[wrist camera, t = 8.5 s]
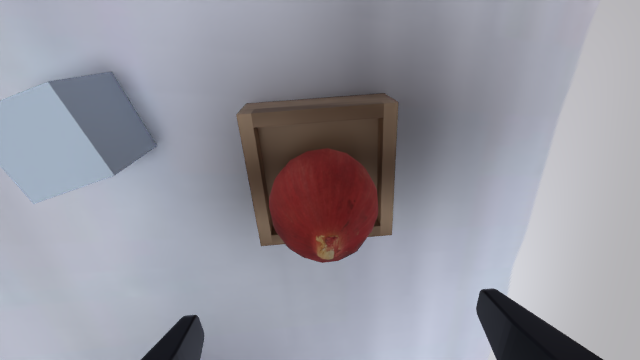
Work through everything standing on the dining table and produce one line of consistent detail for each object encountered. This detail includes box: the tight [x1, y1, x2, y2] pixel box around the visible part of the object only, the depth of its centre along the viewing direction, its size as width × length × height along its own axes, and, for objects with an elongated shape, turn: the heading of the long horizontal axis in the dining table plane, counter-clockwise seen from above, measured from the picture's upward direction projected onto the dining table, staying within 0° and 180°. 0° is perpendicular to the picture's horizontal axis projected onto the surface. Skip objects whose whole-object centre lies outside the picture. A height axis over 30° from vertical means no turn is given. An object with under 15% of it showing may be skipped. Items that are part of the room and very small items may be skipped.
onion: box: [269, 148, 378, 263], centre depth 16 cm, size 6×6×8 cm
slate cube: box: [0, 72, 157, 204], centre depth 17 cm, size 5×5×5 cm
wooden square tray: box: [237, 93, 398, 246], centre depth 20 cm, size 9×9×4 cm
